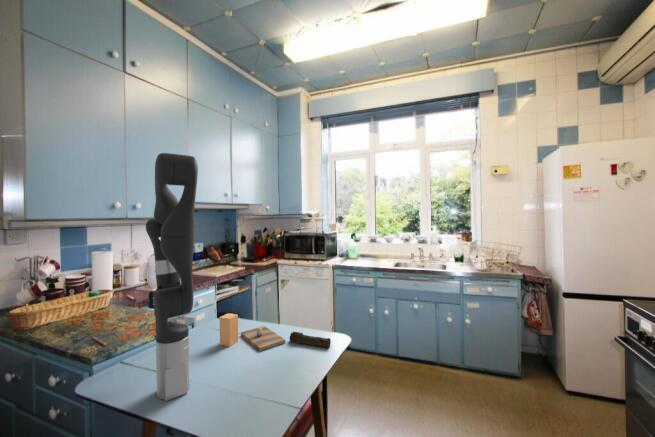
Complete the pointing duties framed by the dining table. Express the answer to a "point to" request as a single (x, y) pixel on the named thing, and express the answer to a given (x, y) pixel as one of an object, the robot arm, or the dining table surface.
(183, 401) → the dining table surface
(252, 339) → the jig plate
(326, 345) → the dark brown rough bar
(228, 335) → the light orange rectangular block
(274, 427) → the dining table surface
